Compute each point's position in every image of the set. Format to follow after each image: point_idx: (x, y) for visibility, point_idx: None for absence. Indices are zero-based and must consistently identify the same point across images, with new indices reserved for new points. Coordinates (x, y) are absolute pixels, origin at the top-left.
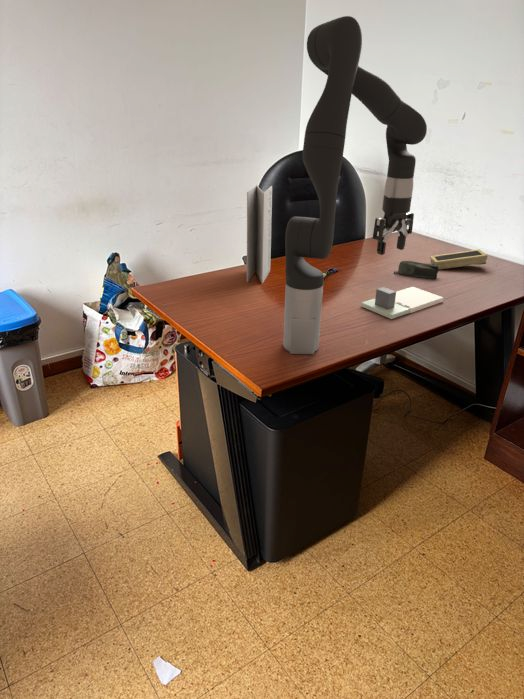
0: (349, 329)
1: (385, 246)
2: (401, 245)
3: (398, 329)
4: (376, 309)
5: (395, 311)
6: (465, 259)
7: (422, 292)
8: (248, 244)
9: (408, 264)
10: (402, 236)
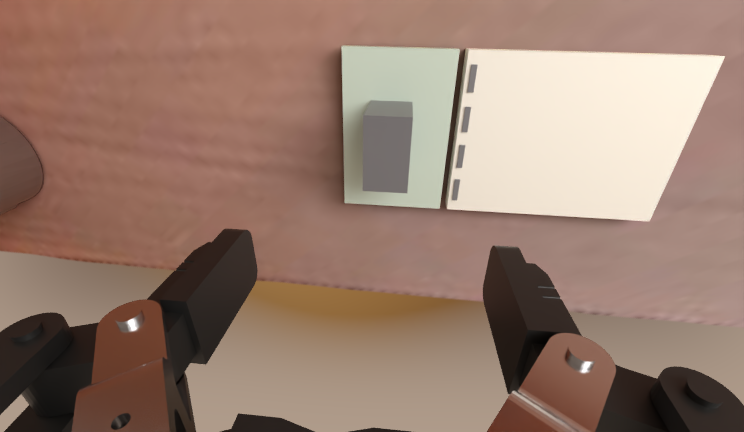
0: (181, 161)
1: (227, 328)
2: (492, 308)
3: (311, 245)
4: (343, 133)
5: (379, 193)
6: None
7: (658, 138)
8: None
9: None
10: (524, 379)
